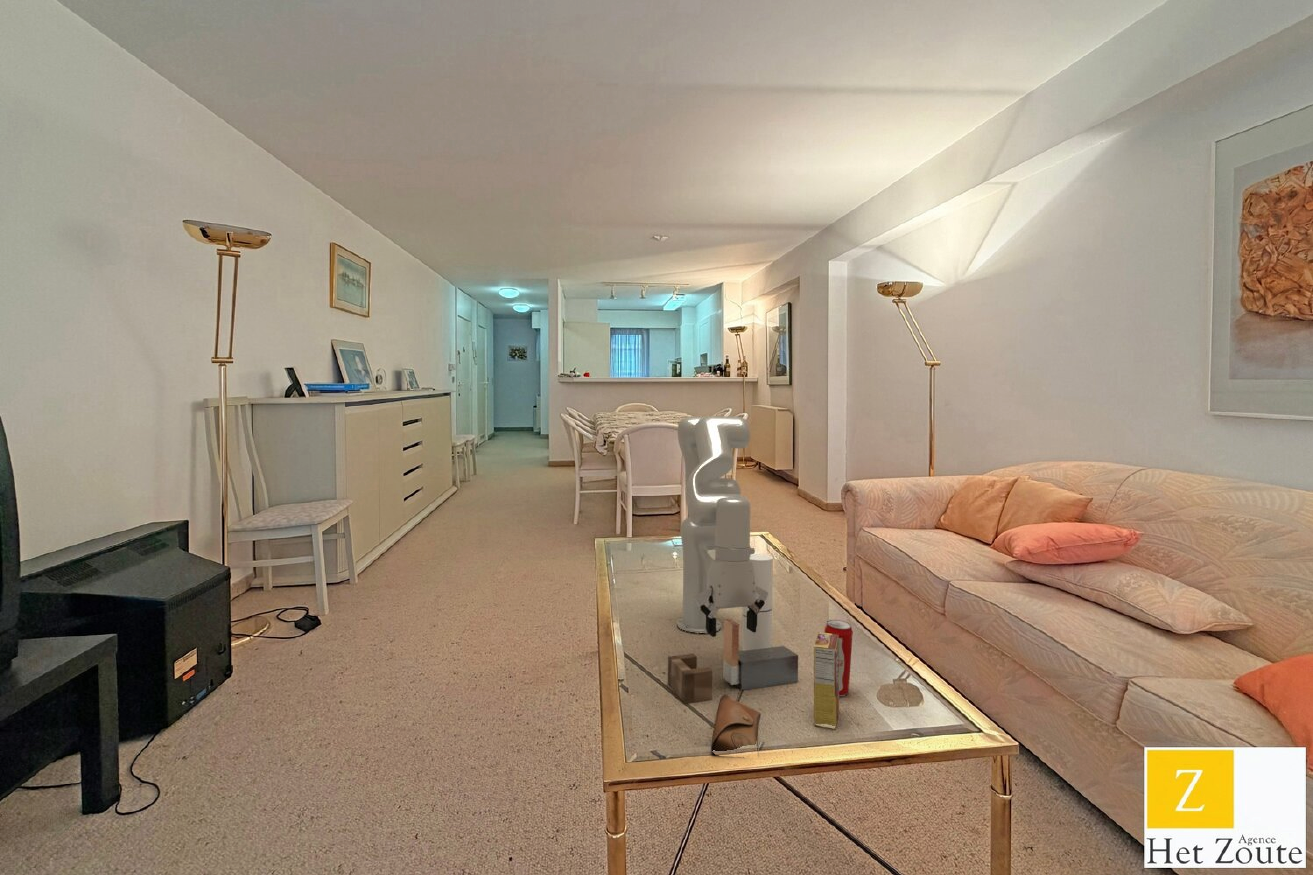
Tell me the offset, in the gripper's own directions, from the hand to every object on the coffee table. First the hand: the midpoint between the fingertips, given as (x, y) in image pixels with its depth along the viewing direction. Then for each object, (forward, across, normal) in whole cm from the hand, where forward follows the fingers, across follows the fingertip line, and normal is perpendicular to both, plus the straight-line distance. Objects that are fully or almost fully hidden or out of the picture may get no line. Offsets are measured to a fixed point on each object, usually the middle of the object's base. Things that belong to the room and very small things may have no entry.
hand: (731, 632), depth 128 cm
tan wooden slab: (+11, -6, -1) cm, 12 cm away
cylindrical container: (+12, -13, -13) cm, 22 cm away
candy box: (+12, -11, +18) cm, 25 cm away
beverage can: (+12, -20, +9) cm, 25 cm away
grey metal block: (+12, -8, -1) cm, 14 cm away
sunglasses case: (+13, +8, +18) cm, 23 cm away
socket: (+12, +10, -1) cm, 15 cm away
